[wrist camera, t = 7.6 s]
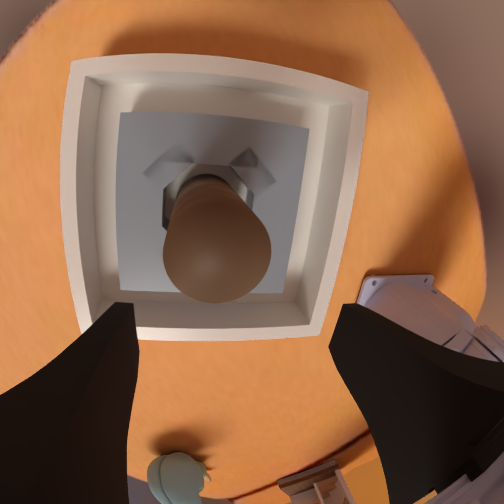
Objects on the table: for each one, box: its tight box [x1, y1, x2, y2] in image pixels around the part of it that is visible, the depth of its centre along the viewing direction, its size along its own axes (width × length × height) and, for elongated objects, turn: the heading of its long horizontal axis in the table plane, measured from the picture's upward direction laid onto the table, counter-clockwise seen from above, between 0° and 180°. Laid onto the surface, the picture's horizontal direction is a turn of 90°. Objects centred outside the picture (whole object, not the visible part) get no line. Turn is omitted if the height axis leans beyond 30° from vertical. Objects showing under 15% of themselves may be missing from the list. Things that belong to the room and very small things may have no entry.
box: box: [60, 53, 369, 341], centre depth 15 cm, size 16×16×4 cm
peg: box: [163, 174, 272, 303], centre depth 13 cm, size 4×4×8 cm
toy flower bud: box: [147, 452, 211, 504], centre depth 25 cm, size 7×9×12 cm
